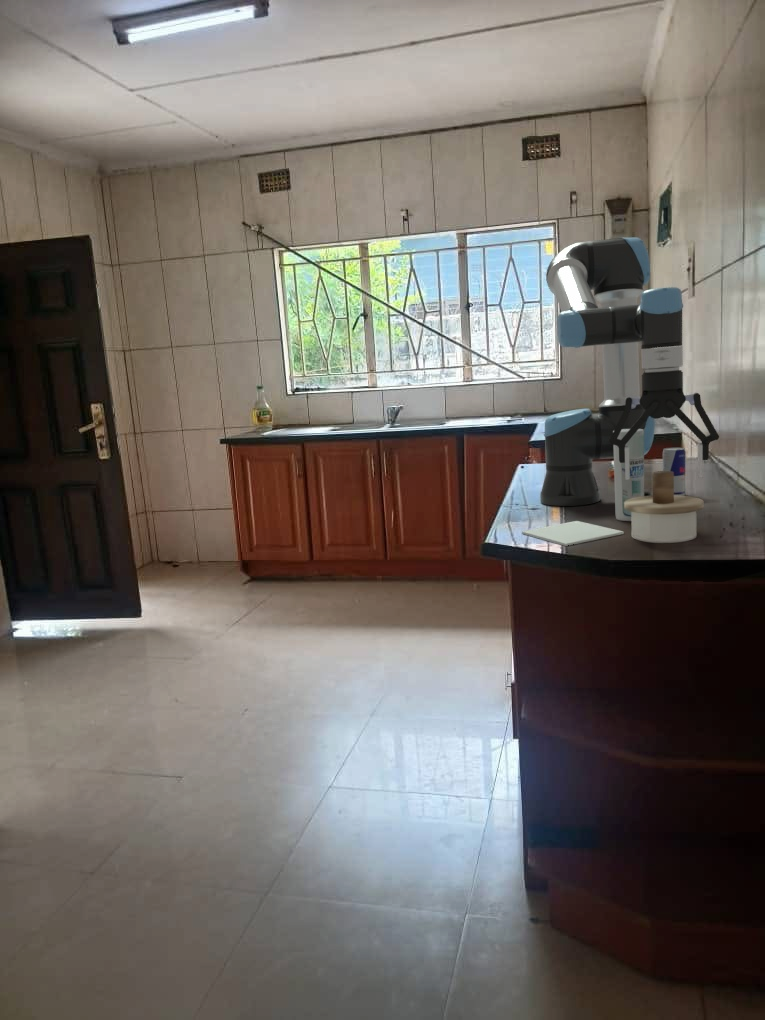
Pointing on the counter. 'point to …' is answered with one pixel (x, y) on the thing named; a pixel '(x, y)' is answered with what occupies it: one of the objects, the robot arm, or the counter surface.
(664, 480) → the lid
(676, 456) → the energy drink
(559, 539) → the mat
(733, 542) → the counter surface
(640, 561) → the counter surface
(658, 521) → the bowl
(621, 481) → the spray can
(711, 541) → the counter surface
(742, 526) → the counter surface
